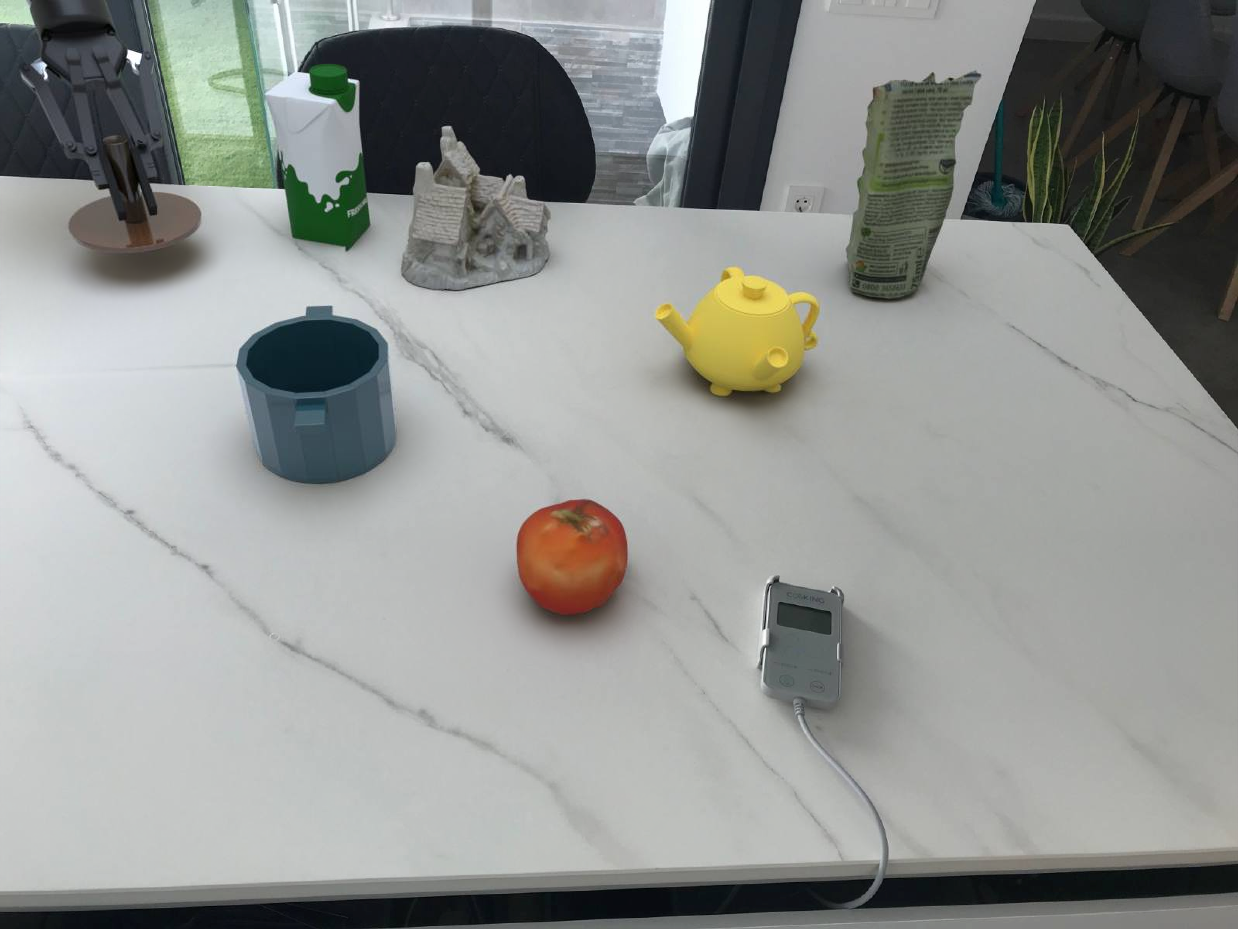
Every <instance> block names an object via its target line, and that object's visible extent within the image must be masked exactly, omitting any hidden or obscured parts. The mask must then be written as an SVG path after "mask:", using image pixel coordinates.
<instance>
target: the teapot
mask: <svg viewBox="0 0 1238 929" xmlns="http://www.w3.org/2000/svg"><path fill="white" fill-rule="evenodd" d="M801 303H802V304H803V303H805V304H809V305H810V307H809V311H808V313H807V316H806V318H805V319H804V321H803V323H802V321H801V318H800V316H799V313H798V311H797V308H796V307H795V305H797V304H801ZM819 314H820V303H819V301H818V299H817V298H815V296H813V295H812V294H810V293H808V292H804V291H798V292H794V293H790V294H788V293H787V291H786V290H785V289H784V288H783V287H782V286H780V285H778V284H777V283H775V282H773V281H771V280H769V279H766V278H763V277H762V276H759V275H745V273H744V271H743V270H742V269H741V268H740V267H738V266H728V267H726V268H724V269H723V271H722V273H721V276H720V282H719V283H717V284H716V285H715V286H714V287H713V288H712V289H711V290H710V291H709V292H708V293H707V294H706V295H705V296H704V297H703V298H702V299H701V300H700V301H699V302H698V304H697V305H696V306H695V308H694V309H693V311H692V312H691V314H690V315H689V318H688V320H687V322H686V320H685V319H684V318H683V316H682V315H681V314H680V313H679V311H678V310H677V309H676V307H675V306H674V305H673V304H672V303H670V302H665V303H662V304H660V305H659V306H658V307H657V308H656V309H655V312H654V318H655V319H656V320H657V321H658V322H659V323H660V324H661V325H662V327H663V328H665V330H666V331H667V332H668V333H669V334H670V335H671V336H672V337H673V338H674V340H676V341H677V342H678V343H679V345H680V346H681V347H682V350H683V352H684V356H685V357H686V359H687V361H688V362H689V363H690V365H691V366H692V367H693V369H694V370H696V372H697V373H698V374H699V375H701V376H702V377H703V378H704V379H705V380H707V381H709V382H711V385H710V387H709V390H710V392H711V393H712V394H713V395H716V396H718V397H727V396H729V395H730V394H732V392H733V390H734V391H740V392H741V391H742V392H759V391H764V392H767V393H778V392H780V391H781V389H782V386H781V384H782V383H785V382H786V381H787V380H789V379H790V378H792V377H793V376H794V375H796V373H797V372H798V371H799V369H800V368H801V366H802V365H803V361H804V357H805V351H810V350H813V349H814V348H816V346H817V344H818V339H819V338H818V334H817V333H816V332H815V331H814V330H812V329H813V328H814V326H815V325H816V323H817V320H818V317H819Z"/></svg>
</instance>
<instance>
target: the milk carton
mask: <svg viewBox="0 0 1238 929" xmlns="http://www.w3.org/2000/svg"><path fill="white" fill-rule="evenodd" d="M264 98H265V100H266V103H267V106H268V109H269V112H270V115H271V118H272V122H273V126H274V133H275V139H276V143H277V151H278V156H279V163H280V168H281V174H282V180H283V187H284V193H285V198H286V206H287V212H288V213H287V214H288V218H289V225H290V232H291V237H292V239H296V240H301V241H307V242H308V241H309V242H314V243H319V244H320V243H321V244H327V245H332V246H336V247H337V246H338V247H343V248H344V247H345V248H344V249H345V251H349V250H350V249H351V247H352V246H353V245H354V244H355V243H356V242H357V241H358V239H359V238H360V237H362V235H363V234H364V233H365V231H367V229H368V228H369V227H370V226H371V218H370V210H369V209H370V208H369V201H368V194H367V185H366V184H367V182H366V175H365V174H366V173H365V166H364V155H363V147H362V138H361V137H362V136H361V128H360V81H359V80H358V79H353V78H349V76H348V70H347V68H346V67H345V66H343V65H339V64H334V63H322V64H316V65H314V66H312V67H310V68H309V71H308V72H300V71H294V72H292V73H291V74H290V75H288V76H287V77H285V78H284V79H283V80H281V81H280V82H279V83H277V84H276V85H274V87H272V88H270V89H269V90H268V91H266V92H265V93H264Z"/></svg>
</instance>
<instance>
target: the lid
mask: <svg viewBox="0 0 1238 929" xmlns="http://www.w3.org/2000/svg"><path fill="white" fill-rule="evenodd" d="M129 143H130V142H129V138H127V137H126V136H125V135H117V134H116V135H109V136H107V137H104V138H103V140H102V144H103V148H104V152H106V153H107V156H108V159H109V162H110V165H111V168H112V171H113V174H114V177H115V180H116V183H117V186H118V189H119V191H120V194H121V197H122V200H123V203H124V206H125V209H126V216H127V220H123V221H119V219H118V216H117V213H116V210H115V207H114V204H113V201H112V198H111V195H110V196H105V197H102V198H99V199H96V200H93V201H91V202H89V203H87V204H85V205H83V206H82V207H80V208H79V209H77V210H76V211H75V212H74V213H73V214H72V215H71V216H70V218H69V220H68V223H67V229H68V232H69V235H70V237H71V239H73V240H74V242H76V243H77V244H79V245H80V246H83V247H84V248H87V249H90V250H94V251H97V252H103V253H112V254H134V253H144V252H151V251H156V250H160V249H164V248H166V247H170V246H173V245H176V244H178V243H181V242H183V241H184V240H186V239H188V238H189V237H191V236H193V235H194V234H195V233H196V232H197V231H198V230H199V228H200V227H201V225H202V222H203V214H202V210H201V208H200V207H199V206H198V205H197V203H195V202H194V201H192V200H191V199H189V198H187V197H184V196H181V195H179V194H174V193H169V192H165V191H164V192H163V191H152V192H153V195H154V198H155V201H156V204H157V215H153V216H150V215H149V212H148V209H147V206H146V203H145V200H144V197H143V194H142V191H141V188H140V185H139V182H138V178H137V174H136V170H135V166H134V162H133V158H132V154H131V150H130V149H131V147H130V144H129Z"/></svg>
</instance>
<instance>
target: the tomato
mask: <svg viewBox="0 0 1238 929" xmlns="http://www.w3.org/2000/svg"><path fill="white" fill-rule="evenodd" d="M628 550H629V549H628V539H627V535H626V530H625V527H624V525H623V524H622V522H621V520H620V519H619V518H618V517H617V516H616V515H615V514H614V513H613V512H612V511H611V510H609V509H608V508H607V507H605V506H604V505H602V504H600V503H598V502H596V501H594V500H592V499H588V498H582V499H581V498H580V499H569V500H566V501H563V502H559V503H555V504H552V505H548V506H544V507H541V508H540V509H538V510H536V511H534V512H533V513H532V514H531V515H529V516H528V517H527V518H526V519H525V520H524V521H523V523H522V524H521V526H520V528H519V529H518V533H517V536H516V565H517V571H518V577H519V580H520V583H521V585H522V587H523V588H524V590H525V591H526V592H527V594H528V595H529V596H530V598H532V600H534V601H535V603H536V604H538V605H539V606H540V607H541V608H543V609H544V610H545V609H546V610H548V611H551V612H553V613H555V614H558V615H564V616H569V615H575V614H585V613H587V612H590V611H591V610H593V609H595V608H598V607H601V606H602V605H603V604H605V602H607V600H608V599H610V597H611V596H612V594H614V593H615V591H616V590H617V588H618V587H619V586H620V585H621V584H622V582H623V580H624V578H625V575H626V570H627V566H628V556H629V553H628V552H629V551H628Z"/></svg>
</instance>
